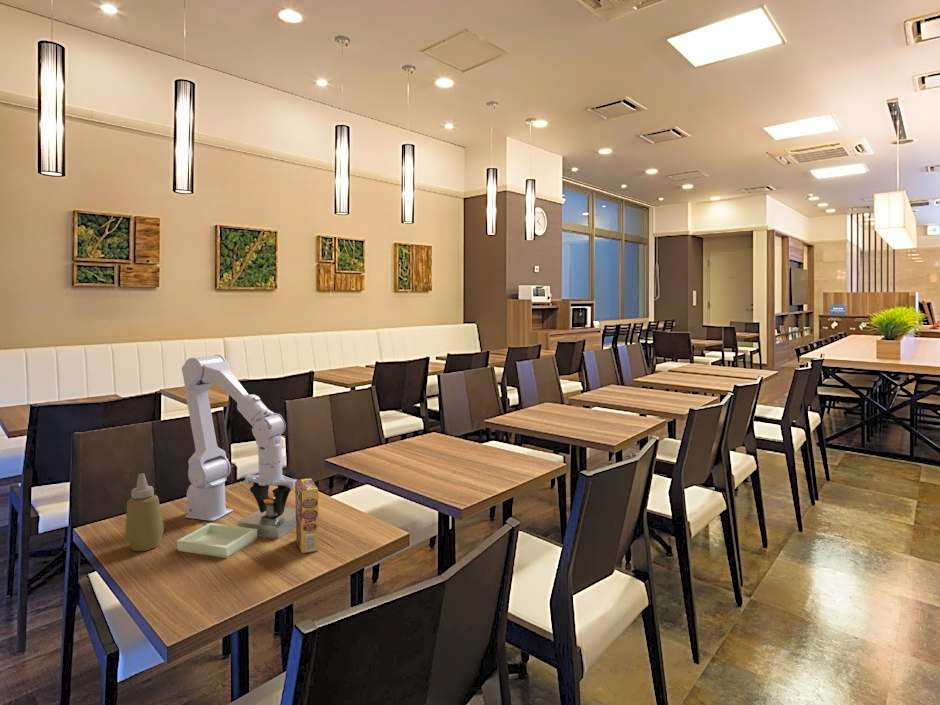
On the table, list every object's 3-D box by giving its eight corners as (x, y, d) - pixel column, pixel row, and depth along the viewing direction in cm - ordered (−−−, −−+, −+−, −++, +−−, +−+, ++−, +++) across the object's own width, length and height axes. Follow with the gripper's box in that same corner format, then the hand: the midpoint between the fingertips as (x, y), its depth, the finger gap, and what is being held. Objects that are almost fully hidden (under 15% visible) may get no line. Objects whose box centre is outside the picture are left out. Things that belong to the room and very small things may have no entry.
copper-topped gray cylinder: (260, 528, 147) (259, 499, 147) (270, 522, 151) (269, 493, 151) (274, 530, 146) (273, 500, 145) (284, 524, 150) (283, 495, 149)
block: (237, 533, 145) (237, 521, 145) (267, 515, 156) (266, 505, 156) (278, 538, 141) (278, 527, 141) (305, 520, 153) (305, 509, 153)
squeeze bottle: (118, 551, 135) (113, 477, 133) (147, 537, 142) (143, 467, 140) (143, 556, 132) (138, 481, 130) (172, 542, 139) (168, 471, 138)
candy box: (320, 550, 135) (318, 488, 133) (301, 554, 133) (299, 491, 131) (313, 536, 143) (311, 477, 141) (295, 539, 141) (293, 480, 139)
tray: (177, 550, 135) (177, 540, 135) (210, 532, 145) (210, 522, 145) (226, 558, 131) (226, 547, 131) (257, 538, 141) (257, 529, 141)
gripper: (236, 463, 145) (238, 514, 147) (285, 468, 141) (287, 521, 143) (254, 456, 152) (256, 505, 153) (301, 460, 148) (302, 511, 149)
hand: (272, 512), depth 148 cm, fingers open, 4 cm apart
